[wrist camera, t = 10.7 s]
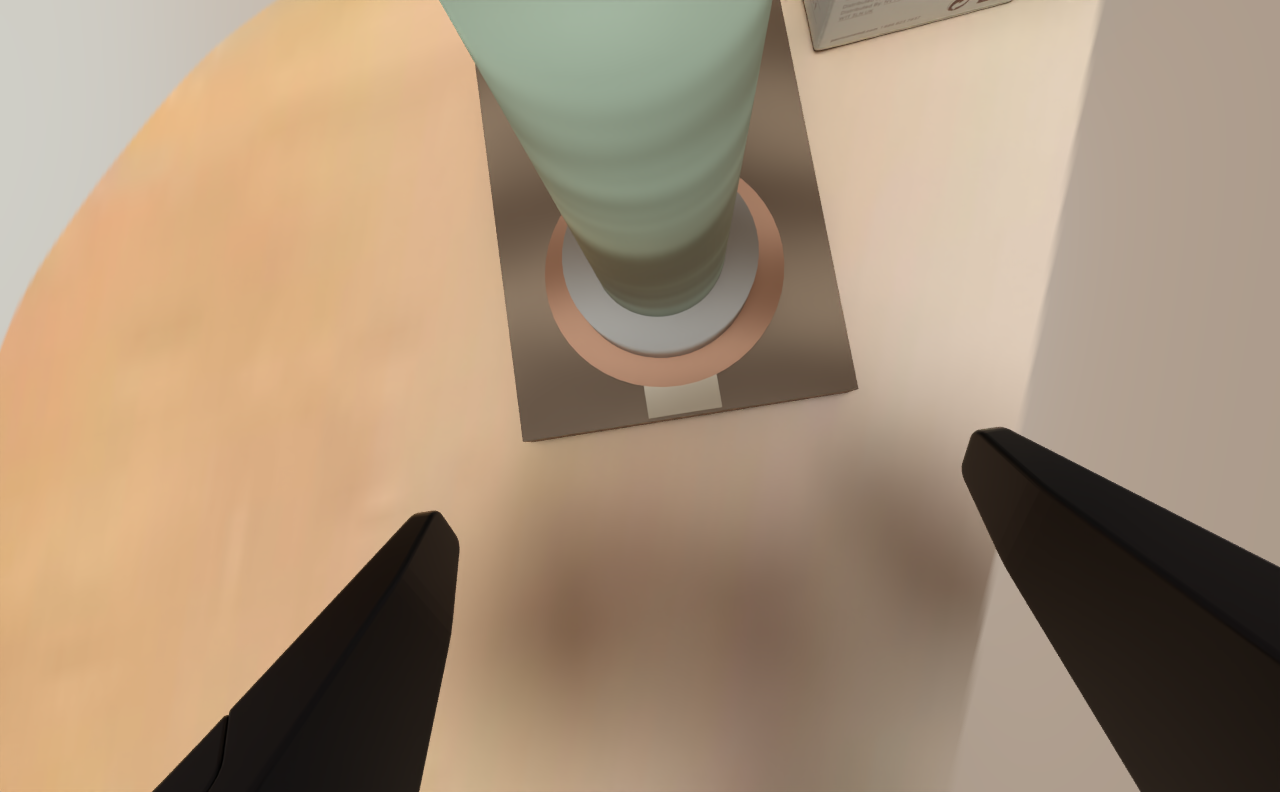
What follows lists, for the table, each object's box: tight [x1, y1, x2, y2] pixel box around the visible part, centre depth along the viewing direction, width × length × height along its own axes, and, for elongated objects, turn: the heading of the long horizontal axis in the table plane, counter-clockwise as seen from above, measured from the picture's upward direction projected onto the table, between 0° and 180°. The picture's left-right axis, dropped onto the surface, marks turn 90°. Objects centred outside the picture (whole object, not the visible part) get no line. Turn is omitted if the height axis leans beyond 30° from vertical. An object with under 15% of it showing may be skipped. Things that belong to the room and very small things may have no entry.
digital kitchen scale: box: [475, 0, 858, 442], centre depth 17 cm, size 14×11×4 cm
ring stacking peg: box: [439, 0, 772, 358], centre depth 10 cm, size 6×6×14 cm
